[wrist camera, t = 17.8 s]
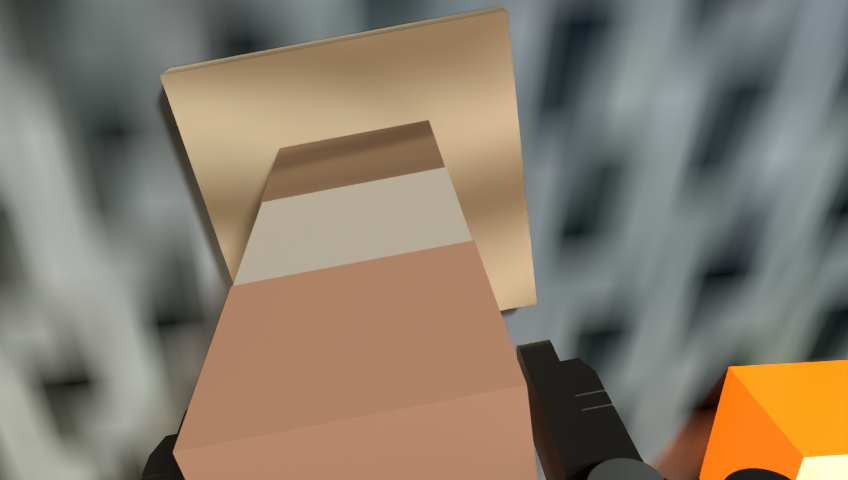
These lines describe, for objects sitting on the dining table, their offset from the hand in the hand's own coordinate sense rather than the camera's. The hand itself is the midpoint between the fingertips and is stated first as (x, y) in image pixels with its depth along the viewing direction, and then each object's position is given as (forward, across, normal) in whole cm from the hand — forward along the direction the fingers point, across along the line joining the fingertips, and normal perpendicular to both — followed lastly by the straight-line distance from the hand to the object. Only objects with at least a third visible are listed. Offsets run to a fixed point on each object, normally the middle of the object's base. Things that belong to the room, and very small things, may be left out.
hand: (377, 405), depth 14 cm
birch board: (+13, 0, 0) cm, 13 cm away
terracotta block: (+1, 0, 0) cm, 1 cm away
